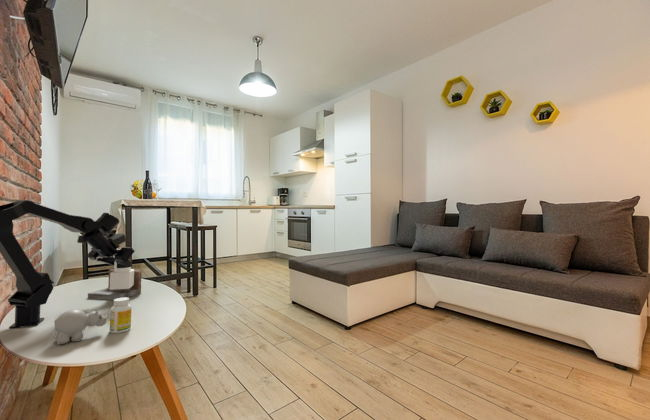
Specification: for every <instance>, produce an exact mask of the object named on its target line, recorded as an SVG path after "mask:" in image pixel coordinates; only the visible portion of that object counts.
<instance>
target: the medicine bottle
mask: <svg viewBox="0 0 650 420" xmlns="http://www.w3.org/2000/svg"><path fill="white" fill-rule="evenodd" d="M129 262H130V267H126V266H124V265H121V264H119V263H116V261H115V262H114V265H113V269H114V270H115V271H113V272H111V273H110V290H116V289H129V288H131V287H132V286H133V285H134V270H135V269H134V268H132V262H133V261H132V260H131V259H130V258H129Z"/></svg>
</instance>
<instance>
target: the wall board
mask: <svg viewBox="0 0 650 420" xmlns="http://www.w3.org/2000/svg"><path fill="white" fill-rule="evenodd" d="M113 271H115V270H114V268H111V269H108V286H107V287H106V288H102V289H99V290H95V291H91V292H88V293H87V299H93V300H111V301H112V300H113V301H114V300H115V299H117V298H123V297H127V298H130V296H131V297H133V296H136V295H138V294H141V293H142V273H143V271H142V270H135V269H134V285H133V286H132V287H131V288H129V289H116V290H110V273H111V272H113Z"/></svg>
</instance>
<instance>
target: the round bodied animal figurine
mask: <svg viewBox="0 0 650 420" xmlns="http://www.w3.org/2000/svg"><path fill="white" fill-rule="evenodd" d="M108 317H109V315H108V313H107V312H106V313H105V316H104V315H102V314H101V313H100V312H99V310H97V308H94V309H93V310H92V311H91V312H88V313H86V312H84V311H83V310H80V309H70V310H66V311H64V312H63V313H61V314H60V315H59V316H58V317H57V318H56V319H55V320H54V322H53V324H54V330H55V332H56V334H55V336H54V340H55V342H56V343H57V345H64V344H66V343H69V342H70V341H71V342H79V341H82V340H83V339H84V333H83V331H84V330H85V329H86V328H87V327H95V326H97V327H103V326H104V325H106V323H107V319H108Z"/></svg>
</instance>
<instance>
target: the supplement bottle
mask: <svg viewBox="0 0 650 420" xmlns="http://www.w3.org/2000/svg"><path fill="white" fill-rule="evenodd" d="M129 303H130V297H128V298H127V297H123V298H117V299H115V300H113V306H111V308H110V311H109V313H110V314H109V315H110V316H109V332H110V333H111V334H120V333H125V332H127V331H129V330H131V327H132V325H131V324H132V305H131V304H129Z"/></svg>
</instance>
